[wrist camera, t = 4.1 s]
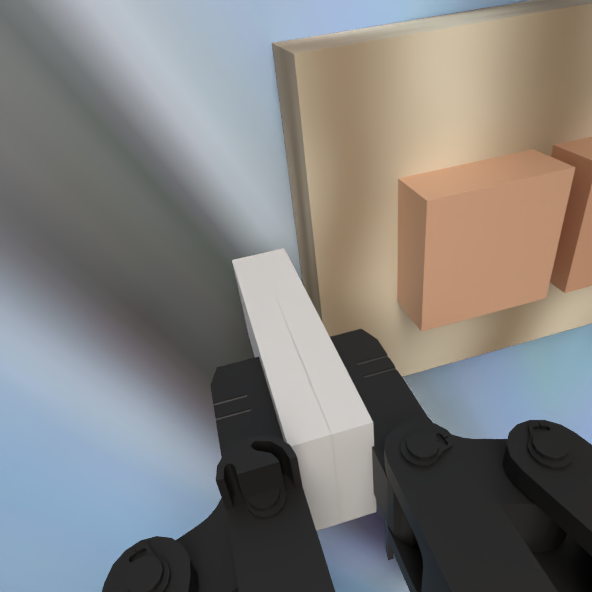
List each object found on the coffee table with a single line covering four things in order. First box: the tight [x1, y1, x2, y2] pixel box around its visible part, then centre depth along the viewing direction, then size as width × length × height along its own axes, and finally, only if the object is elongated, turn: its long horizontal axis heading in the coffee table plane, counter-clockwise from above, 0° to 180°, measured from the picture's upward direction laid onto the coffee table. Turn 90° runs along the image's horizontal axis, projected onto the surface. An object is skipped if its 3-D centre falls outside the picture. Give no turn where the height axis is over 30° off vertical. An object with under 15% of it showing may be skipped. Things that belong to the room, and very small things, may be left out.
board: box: [272, 0, 592, 377], centre depth 17 cm, size 14×12×2 cm
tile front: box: [397, 149, 575, 332], centre depth 15 cm, size 4×4×2 cm
